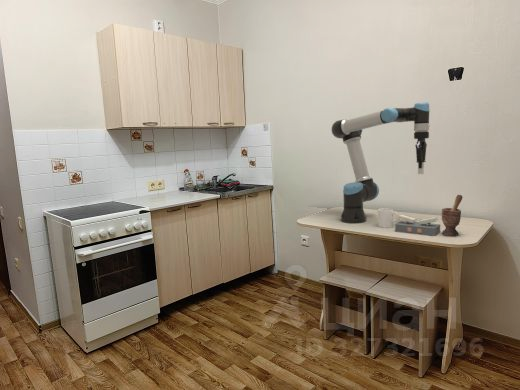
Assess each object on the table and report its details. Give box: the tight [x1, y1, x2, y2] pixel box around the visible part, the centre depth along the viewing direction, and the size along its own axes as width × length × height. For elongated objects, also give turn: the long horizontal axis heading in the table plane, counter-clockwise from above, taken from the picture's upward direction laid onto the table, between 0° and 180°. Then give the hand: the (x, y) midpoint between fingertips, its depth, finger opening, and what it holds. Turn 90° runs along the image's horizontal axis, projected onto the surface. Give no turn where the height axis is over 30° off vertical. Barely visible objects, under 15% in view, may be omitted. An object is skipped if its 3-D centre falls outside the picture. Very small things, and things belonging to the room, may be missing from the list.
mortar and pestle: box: [441, 194, 464, 237], centre depth 186 cm, size 12×9×20 cm
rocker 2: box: [418, 216, 439, 224], centre depth 191 cm, size 8×4×2 cm, turn 50°
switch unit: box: [394, 220, 441, 237], centre depth 195 cm, size 20×10×5 cm, turn 50°
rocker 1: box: [398, 214, 417, 223], centre depth 198 cm, size 8×4×2 cm, turn 50°
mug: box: [377, 207, 400, 229], centre depth 208 cm, size 8×12×10 cm
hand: (420, 174), depth 204 cm, fingers closed
